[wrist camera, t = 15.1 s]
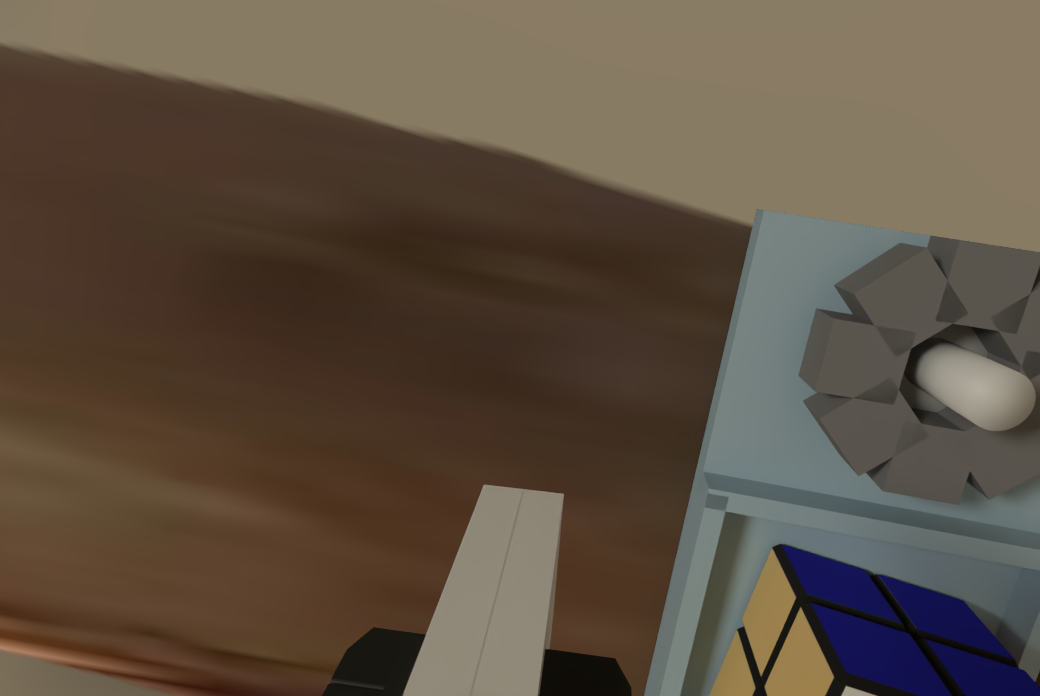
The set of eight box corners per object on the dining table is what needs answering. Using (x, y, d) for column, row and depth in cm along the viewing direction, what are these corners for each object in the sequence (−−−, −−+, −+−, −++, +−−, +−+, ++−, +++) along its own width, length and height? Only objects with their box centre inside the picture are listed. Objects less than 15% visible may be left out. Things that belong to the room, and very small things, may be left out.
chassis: (756, 209, 32) (805, 216, 25) (1132, 266, 31) (1309, 293, 23) (636, 726, 40) (645, 856, 32) (936, 790, 38) (1020, 942, 31)
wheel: (838, 221, 30) (859, 224, 27) (1102, 262, 29) (1148, 269, 26) (777, 453, 32) (792, 474, 30) (1017, 496, 31) (1052, 522, 29)
